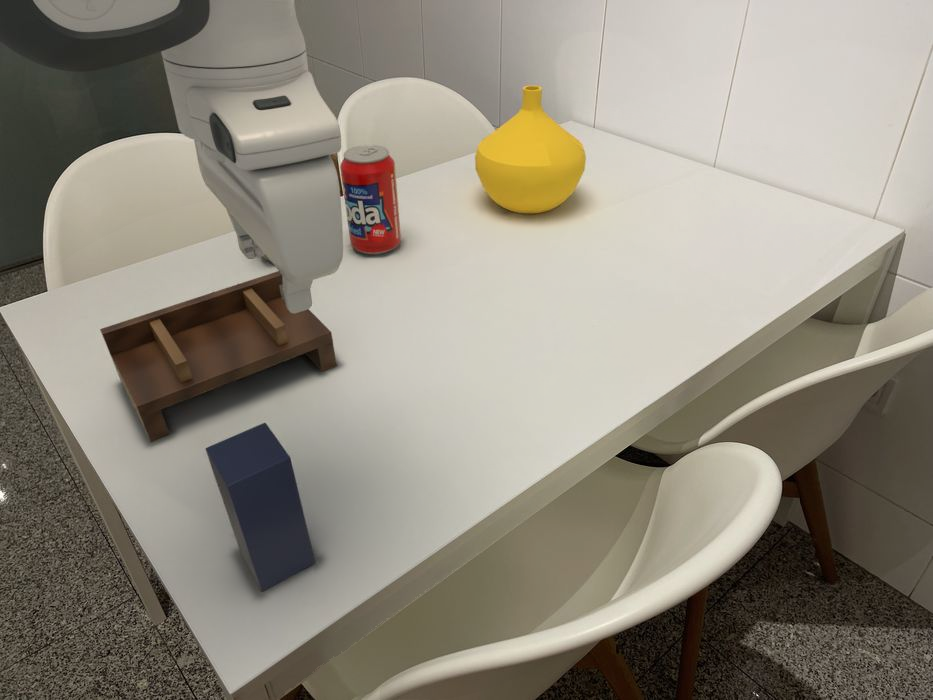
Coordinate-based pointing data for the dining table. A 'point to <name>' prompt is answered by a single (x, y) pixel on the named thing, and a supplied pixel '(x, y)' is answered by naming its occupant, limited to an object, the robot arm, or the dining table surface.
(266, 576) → the navy block
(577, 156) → the vase
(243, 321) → the wooden divided tray
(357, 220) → the soda can
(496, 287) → the dining table surface
